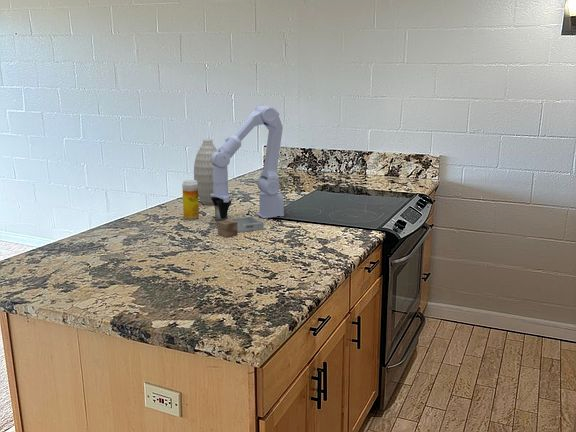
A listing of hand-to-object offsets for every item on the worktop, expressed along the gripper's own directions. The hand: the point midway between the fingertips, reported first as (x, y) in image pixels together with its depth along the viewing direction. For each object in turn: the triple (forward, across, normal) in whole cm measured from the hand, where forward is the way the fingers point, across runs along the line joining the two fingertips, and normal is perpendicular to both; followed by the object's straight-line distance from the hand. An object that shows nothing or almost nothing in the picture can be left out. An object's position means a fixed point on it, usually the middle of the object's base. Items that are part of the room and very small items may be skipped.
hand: (221, 216), depth 227 cm
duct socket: (+2, +13, +5) cm, 14 cm away
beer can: (+2, -8, -10) cm, 13 cm away
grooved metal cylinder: (+2, 0, 0) cm, 2 cm away
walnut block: (+2, +20, -4) cm, 20 cm away
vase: (+2, -30, +4) cm, 30 cm away
